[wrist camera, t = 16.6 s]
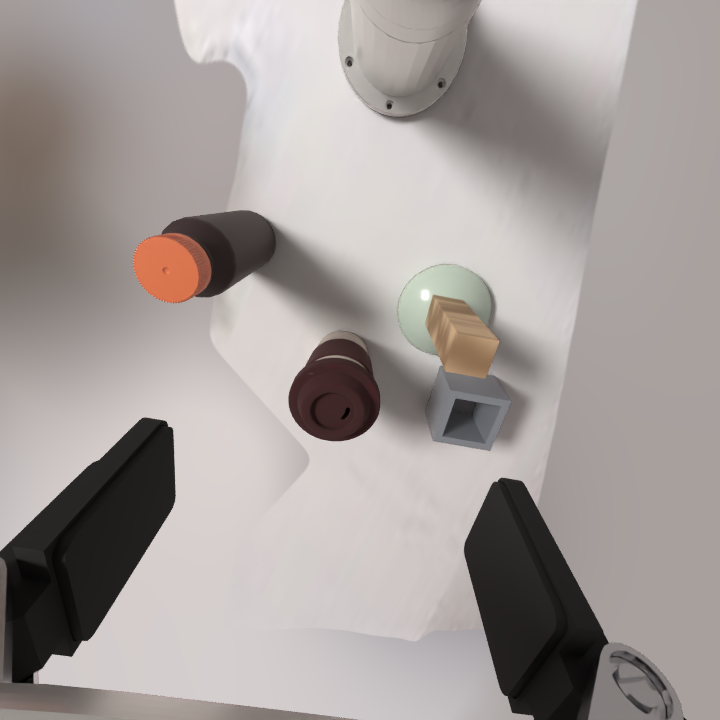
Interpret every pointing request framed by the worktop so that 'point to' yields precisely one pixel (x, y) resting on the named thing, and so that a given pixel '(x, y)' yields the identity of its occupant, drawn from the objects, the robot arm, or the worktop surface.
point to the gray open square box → (461, 426)
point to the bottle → (203, 255)
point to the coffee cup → (336, 390)
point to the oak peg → (460, 337)
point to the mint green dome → (441, 283)
